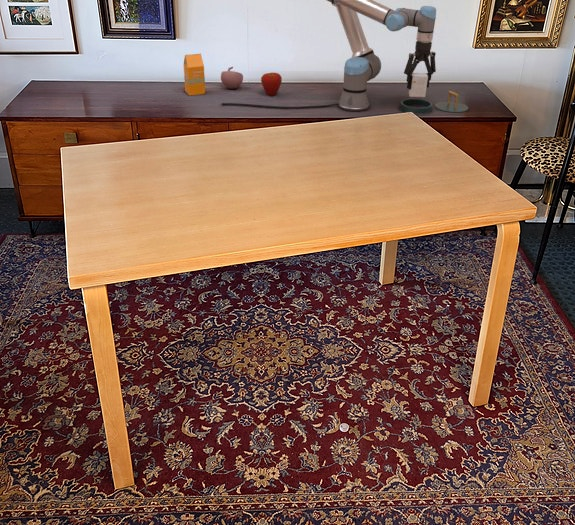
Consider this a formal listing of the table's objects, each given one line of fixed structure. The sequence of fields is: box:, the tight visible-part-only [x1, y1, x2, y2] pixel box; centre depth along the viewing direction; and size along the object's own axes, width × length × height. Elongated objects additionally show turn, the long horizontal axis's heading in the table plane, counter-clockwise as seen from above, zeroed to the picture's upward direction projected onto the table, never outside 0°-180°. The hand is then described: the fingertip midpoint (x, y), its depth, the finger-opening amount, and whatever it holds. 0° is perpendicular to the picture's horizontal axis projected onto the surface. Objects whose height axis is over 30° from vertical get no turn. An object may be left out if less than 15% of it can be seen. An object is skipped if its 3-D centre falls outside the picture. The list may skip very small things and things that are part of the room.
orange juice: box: [183, 53, 206, 96], centre depth 333 cm, size 8×9×20 cm
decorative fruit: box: [220, 66, 244, 90], centre depth 343 cm, size 12×12×11 cm
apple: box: [260, 72, 283, 97], centre depth 334 cm, size 11×11×12 cm
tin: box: [399, 98, 433, 114], centre depth 320 cm, size 16×16×3 cm
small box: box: [408, 72, 428, 98], centre depth 314 cm, size 8×6×10 cm
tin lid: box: [434, 90, 469, 114], centre depth 320 cm, size 17×17×8 cm
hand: (417, 87), depth 315 cm, fingers closed on small box, 9 cm apart
